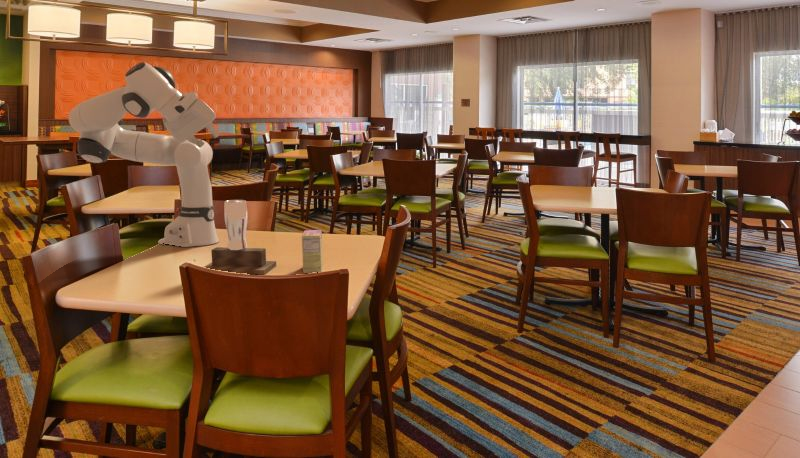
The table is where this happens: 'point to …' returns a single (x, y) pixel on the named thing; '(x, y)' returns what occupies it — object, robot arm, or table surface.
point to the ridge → (241, 261)
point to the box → (312, 251)
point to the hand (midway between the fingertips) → (209, 141)
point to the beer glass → (236, 223)
